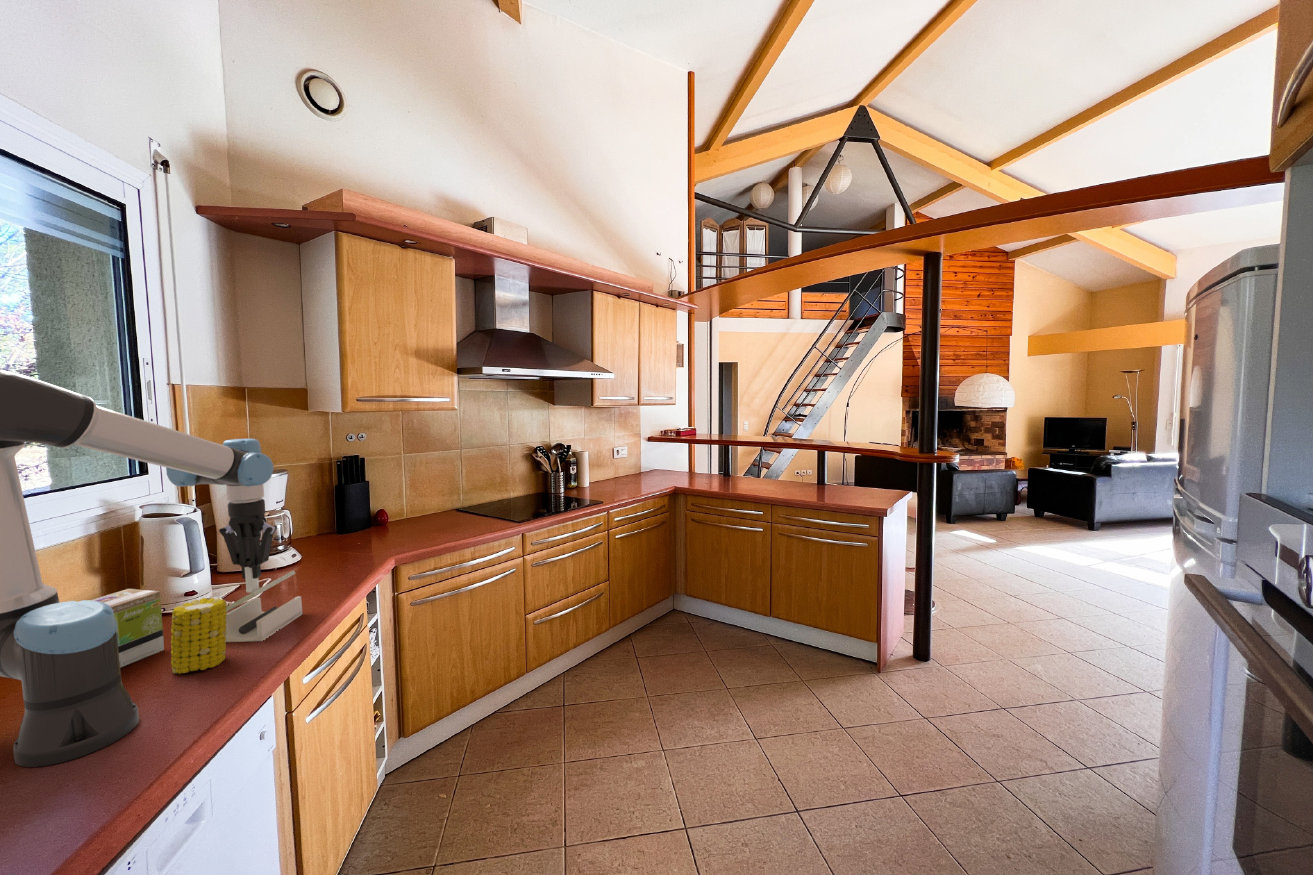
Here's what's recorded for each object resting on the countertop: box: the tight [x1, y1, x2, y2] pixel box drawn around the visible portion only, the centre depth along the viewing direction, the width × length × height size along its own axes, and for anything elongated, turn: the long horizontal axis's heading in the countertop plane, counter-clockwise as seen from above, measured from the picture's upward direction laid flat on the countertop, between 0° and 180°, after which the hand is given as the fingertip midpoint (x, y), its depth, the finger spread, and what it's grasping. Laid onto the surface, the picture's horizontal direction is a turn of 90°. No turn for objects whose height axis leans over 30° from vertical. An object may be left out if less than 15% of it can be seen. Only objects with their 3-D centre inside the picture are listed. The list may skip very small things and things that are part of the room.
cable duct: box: [225, 596, 303, 643], centre depth 141 cm, size 16×12×5 cm
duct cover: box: [226, 570, 296, 613], centre depth 140 cm, size 16×12×1 cm
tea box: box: [92, 588, 165, 669], centre depth 123 cm, size 15×10×15 cm
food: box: [170, 597, 227, 675], centre depth 122 cm, size 15×12×10 cm
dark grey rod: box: [239, 606, 279, 634], centre depth 142 cm, size 13×2×2 cm, turn 2°
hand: (252, 590), depth 140 cm, fingers closed
